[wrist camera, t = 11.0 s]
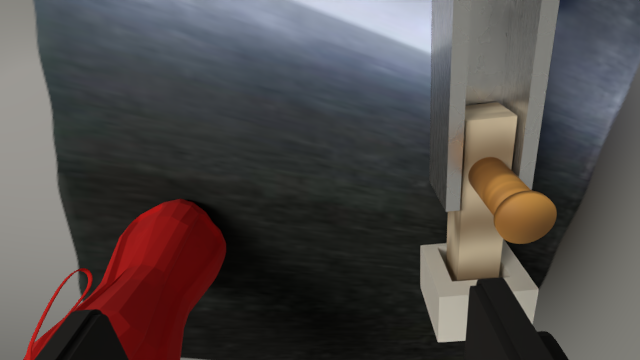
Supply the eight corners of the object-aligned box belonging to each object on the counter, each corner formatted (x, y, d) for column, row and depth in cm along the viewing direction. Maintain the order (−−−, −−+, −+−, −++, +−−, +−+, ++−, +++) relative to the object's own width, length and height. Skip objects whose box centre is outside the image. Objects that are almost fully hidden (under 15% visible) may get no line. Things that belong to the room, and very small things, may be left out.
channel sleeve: (432, -15, 32) (454, -15, 26) (522, -27, 31) (563, -29, 26) (429, 181, 40) (445, 211, 34) (501, 174, 39) (529, 204, 34)
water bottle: (179, 171, 39) (-13, 412, 17) (240, 247, 44) (151, 522, 21) (111, 208, 42) (-138, 467, 19) (176, 278, 46) (33, 557, 23)
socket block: (420, 245, 43) (439, 296, 36) (503, 238, 43) (538, 289, 35) (420, 286, 46) (437, 342, 39) (498, 280, 45) (530, 335, 38)
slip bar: (452, 107, 35) (504, 156, 25) (497, 102, 34) (568, 150, 24) (445, 279, 44) (481, 368, 34) (481, 276, 43) (528, 365, 33)
